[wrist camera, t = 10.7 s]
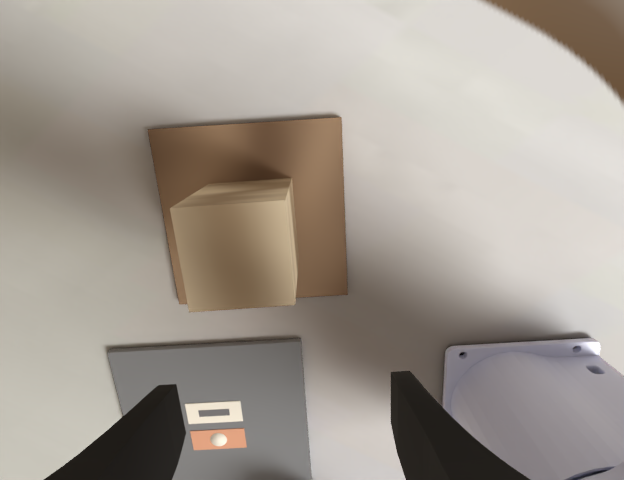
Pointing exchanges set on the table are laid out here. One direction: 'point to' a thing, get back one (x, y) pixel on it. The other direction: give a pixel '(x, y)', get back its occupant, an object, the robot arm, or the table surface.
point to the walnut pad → (263, 166)
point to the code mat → (227, 405)
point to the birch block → (238, 245)
